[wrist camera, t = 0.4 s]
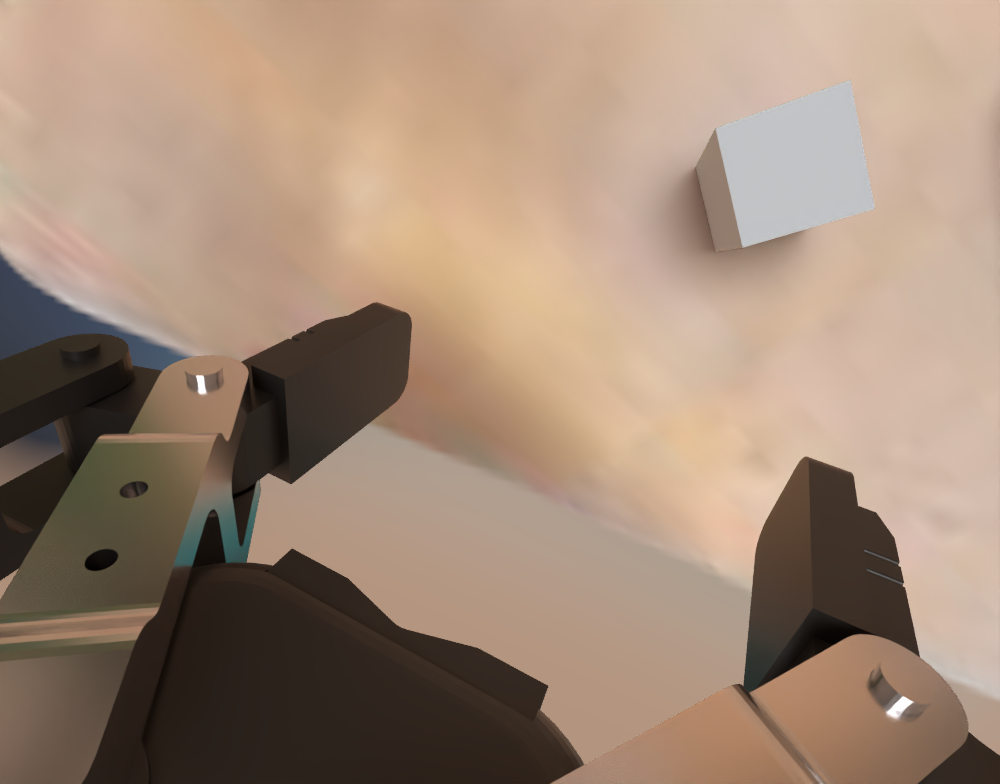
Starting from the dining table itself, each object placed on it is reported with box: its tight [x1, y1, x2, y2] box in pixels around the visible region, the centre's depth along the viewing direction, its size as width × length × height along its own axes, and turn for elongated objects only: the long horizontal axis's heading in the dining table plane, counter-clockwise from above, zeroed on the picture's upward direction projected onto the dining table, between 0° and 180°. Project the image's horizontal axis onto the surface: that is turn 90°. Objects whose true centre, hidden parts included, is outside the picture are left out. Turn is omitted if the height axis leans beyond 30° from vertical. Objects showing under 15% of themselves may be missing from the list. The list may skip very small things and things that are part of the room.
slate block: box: [696, 80, 875, 252], centre depth 27 cm, size 5×5×10 cm
